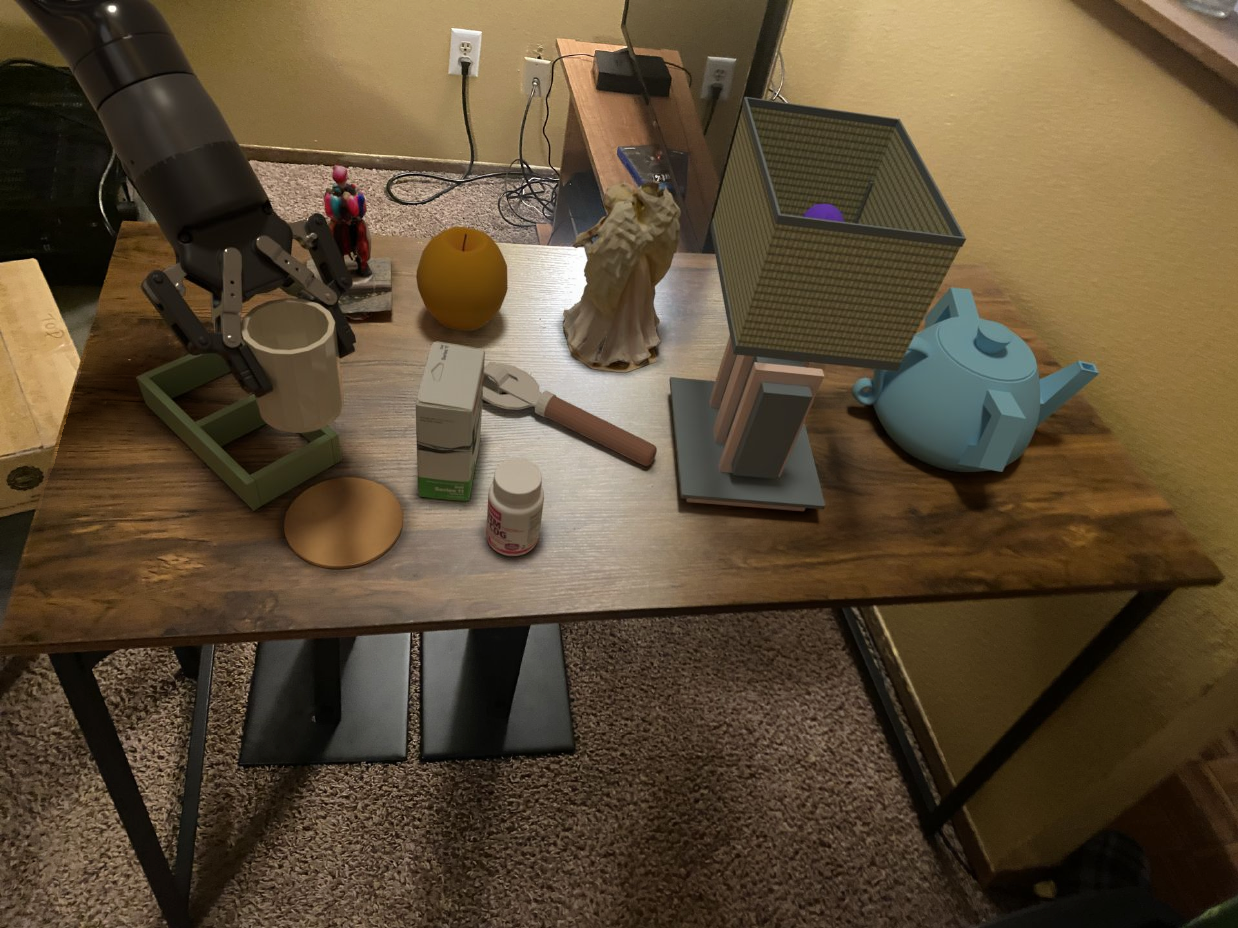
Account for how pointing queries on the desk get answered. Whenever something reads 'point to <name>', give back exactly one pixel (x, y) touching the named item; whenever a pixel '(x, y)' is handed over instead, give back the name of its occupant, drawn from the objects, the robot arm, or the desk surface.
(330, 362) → the cup
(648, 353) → the figurine
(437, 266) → the apple
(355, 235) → the statue
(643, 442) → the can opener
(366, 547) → the coaster
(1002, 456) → the teapot
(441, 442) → the ink box
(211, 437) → the cup holder
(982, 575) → the desk surface
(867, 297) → the desk lamp
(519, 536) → the pill bottle
